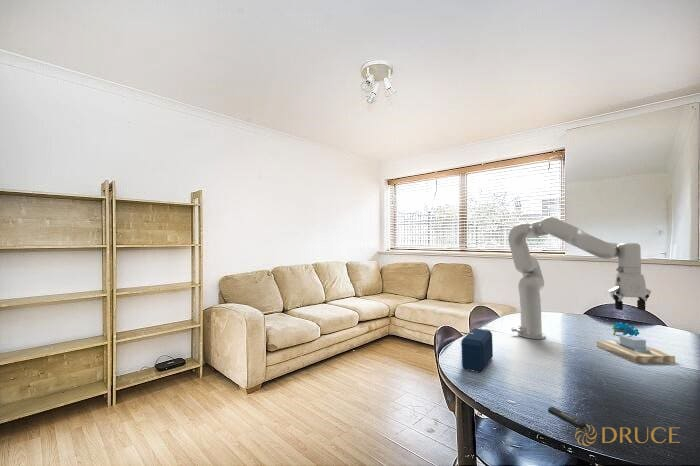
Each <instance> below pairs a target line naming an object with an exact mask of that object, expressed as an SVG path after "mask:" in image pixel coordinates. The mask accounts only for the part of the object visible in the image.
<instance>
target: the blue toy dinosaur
mask: <svg viewBox="0 0 700 466" xmlns="http://www.w3.org/2000/svg"><path fill="white" fill-rule="evenodd" d="M611 329H612V330H613V335H614V336H615V335H616V333H622V335H632V336H635V337H637V336H639V335H640V332H639V329H637V328H635V326H634V325H630V326H629V323H627V322H626V323H625V324H624V323H623V322H615V324H613V326H612V327H611Z"/></svg>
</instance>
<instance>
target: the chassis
mask: <svg viewBox="0 0 700 466" xmlns="http://www.w3.org/2000/svg"><path fill="white" fill-rule="evenodd" d="M617 342H620V339H619V340H614V339H613V340H610V339H609V340H596V346H597V347H598V348H601V349H602V350H605V351H608V352H610V353H611V354H614V355H616V356H618V357H621V358H623V359H625V360H628V361H630V362H632V363H635V364H636V363H637V364H641V363H642V364H643V363H644V364H645V363H647V364H648V363H650V364H651V363H653V364H654V363H658V364H659V363H661V364H662V363H664V364H665V363H676V356H675V355H673V354H670V353H667V352H665V351H663V350H659V349H657V348H654V347H651V346H648V345H646V349H648V350H650V352H636V351H633V350H630V349H627V348H625V347H622V346H620V345H619V344H617Z"/></svg>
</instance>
